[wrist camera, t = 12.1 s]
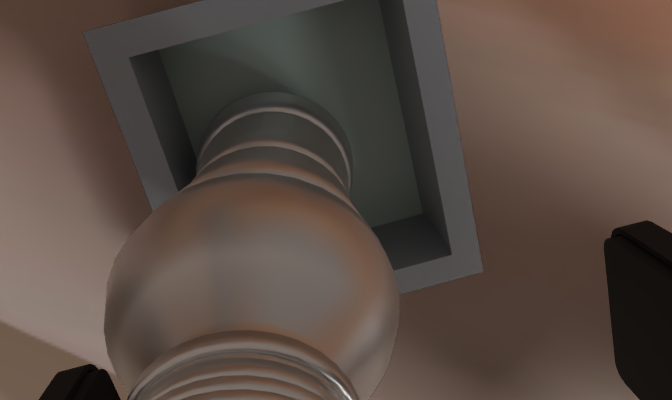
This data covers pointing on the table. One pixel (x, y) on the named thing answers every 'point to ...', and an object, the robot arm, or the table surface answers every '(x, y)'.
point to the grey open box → (318, 86)
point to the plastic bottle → (256, 270)
